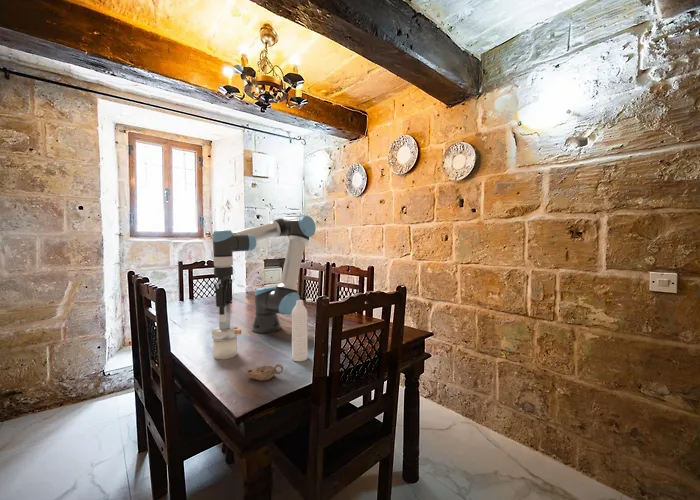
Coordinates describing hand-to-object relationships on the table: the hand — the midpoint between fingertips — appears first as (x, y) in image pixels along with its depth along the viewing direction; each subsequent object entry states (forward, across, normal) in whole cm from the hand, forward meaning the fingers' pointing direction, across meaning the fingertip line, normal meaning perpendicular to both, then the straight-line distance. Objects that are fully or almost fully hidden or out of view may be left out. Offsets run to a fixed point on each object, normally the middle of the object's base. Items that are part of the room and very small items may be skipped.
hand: (225, 320), depth 133 cm
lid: (+7, 0, +1) cm, 7 cm away
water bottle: (+16, +3, +34) cm, 37 cm away
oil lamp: (+16, +21, +23) cm, 35 cm away
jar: (+15, 0, 0) cm, 15 cm away
